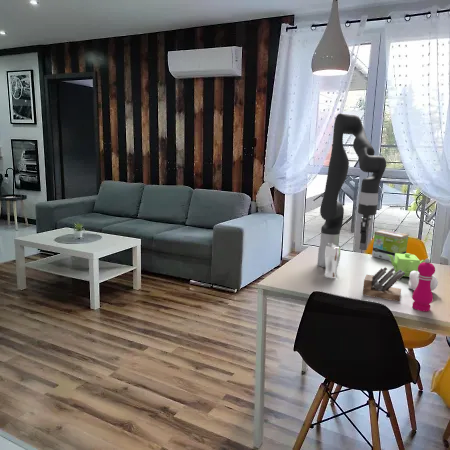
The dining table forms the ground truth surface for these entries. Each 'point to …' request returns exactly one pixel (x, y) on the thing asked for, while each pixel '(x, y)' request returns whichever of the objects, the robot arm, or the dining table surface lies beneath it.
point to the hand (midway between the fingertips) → (363, 242)
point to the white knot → (415, 280)
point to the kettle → (405, 263)
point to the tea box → (389, 244)
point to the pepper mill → (423, 287)
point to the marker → (364, 246)
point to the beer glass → (332, 260)
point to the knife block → (386, 291)
